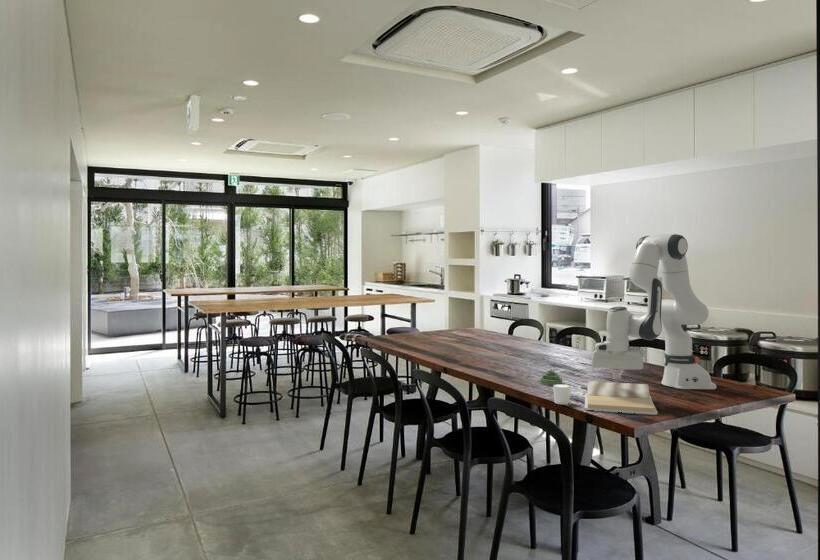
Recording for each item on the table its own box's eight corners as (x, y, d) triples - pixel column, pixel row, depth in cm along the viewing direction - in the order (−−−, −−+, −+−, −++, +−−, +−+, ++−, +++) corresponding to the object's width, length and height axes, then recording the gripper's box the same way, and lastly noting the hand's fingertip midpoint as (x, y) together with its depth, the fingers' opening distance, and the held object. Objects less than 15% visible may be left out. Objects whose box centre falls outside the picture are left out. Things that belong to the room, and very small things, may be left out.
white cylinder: (563, 405, 230) (563, 388, 230) (549, 402, 236) (549, 385, 235) (574, 403, 234) (574, 385, 234) (560, 399, 240) (560, 383, 239)
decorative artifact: (565, 383, 271) (546, 380, 277) (565, 368, 271) (546, 366, 277) (556, 387, 263) (536, 384, 270) (556, 372, 263) (536, 369, 270)
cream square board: (650, 398, 240) (650, 392, 240) (657, 414, 215) (657, 408, 215) (585, 394, 248) (585, 389, 248) (584, 410, 223) (584, 403, 223)
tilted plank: (647, 387, 239) (648, 384, 238) (650, 401, 231) (650, 398, 230) (587, 384, 246) (587, 381, 245) (587, 398, 238) (587, 395, 237)
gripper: (643, 345, 239) (642, 378, 240) (591, 343, 245) (591, 376, 246) (644, 348, 233) (644, 382, 234) (592, 345, 239) (591, 378, 240)
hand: (616, 378), depth 240 cm, fingers closed
